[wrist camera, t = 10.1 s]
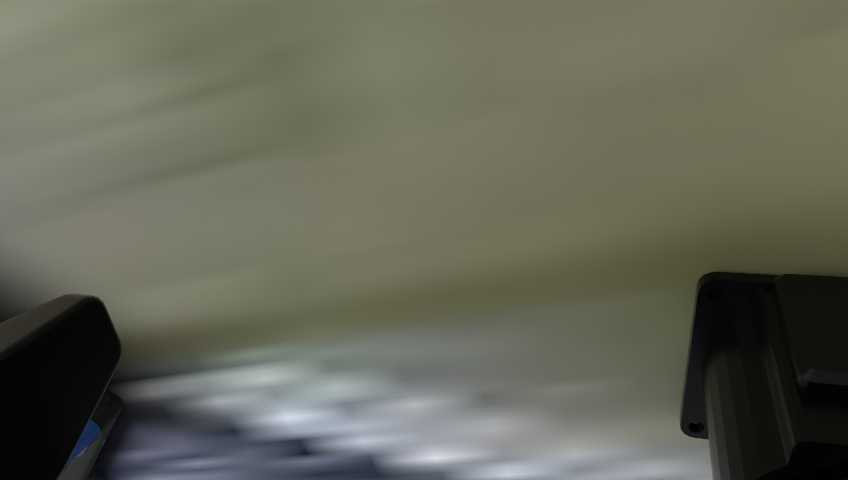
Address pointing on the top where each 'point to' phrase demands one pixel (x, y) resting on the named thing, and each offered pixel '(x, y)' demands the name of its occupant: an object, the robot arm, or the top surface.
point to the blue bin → (93, 438)
